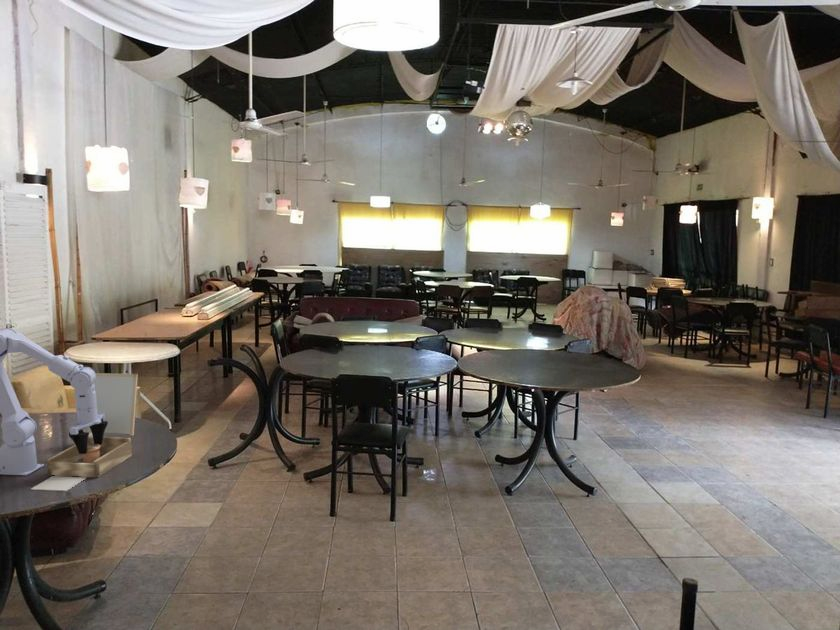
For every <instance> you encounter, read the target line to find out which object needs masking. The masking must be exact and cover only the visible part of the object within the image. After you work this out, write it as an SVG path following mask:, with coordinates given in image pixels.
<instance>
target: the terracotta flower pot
mask: <svg viewBox="0 0 840 630" xmlns="http://www.w3.org/2000/svg"><path fill="white" fill-rule="evenodd" d="M99 450H100V445H99V444H89V445H87V453H86V454H82V456H83V458H82V463H93V461H95V460H97V459H98V458H100V457H101V455H100V452H99Z"/></svg>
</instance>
